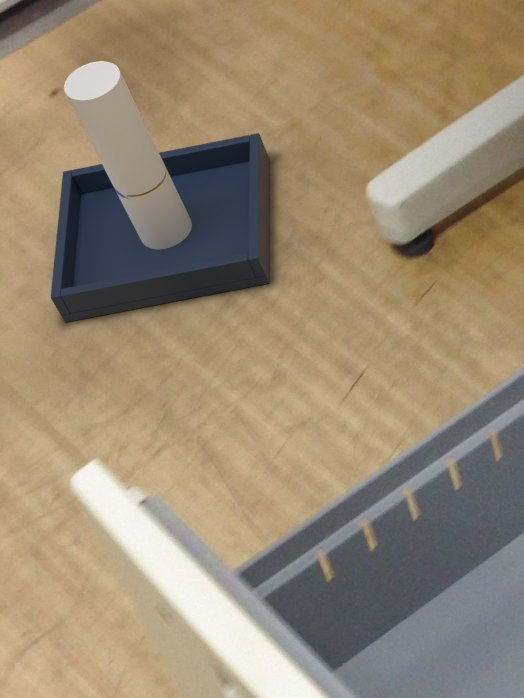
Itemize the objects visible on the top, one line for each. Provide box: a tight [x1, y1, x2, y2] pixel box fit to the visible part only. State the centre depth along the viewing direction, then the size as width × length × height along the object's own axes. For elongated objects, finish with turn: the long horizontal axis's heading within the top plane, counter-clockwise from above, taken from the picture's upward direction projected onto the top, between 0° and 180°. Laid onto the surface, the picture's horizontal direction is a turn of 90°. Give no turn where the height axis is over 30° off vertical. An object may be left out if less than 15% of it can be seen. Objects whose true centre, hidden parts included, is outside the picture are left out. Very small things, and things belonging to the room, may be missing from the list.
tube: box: [63, 60, 192, 249], centre depth 139 cm, size 4×4×15 cm
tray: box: [50, 132, 271, 323], centre depth 144 cm, size 17×15×3 cm
